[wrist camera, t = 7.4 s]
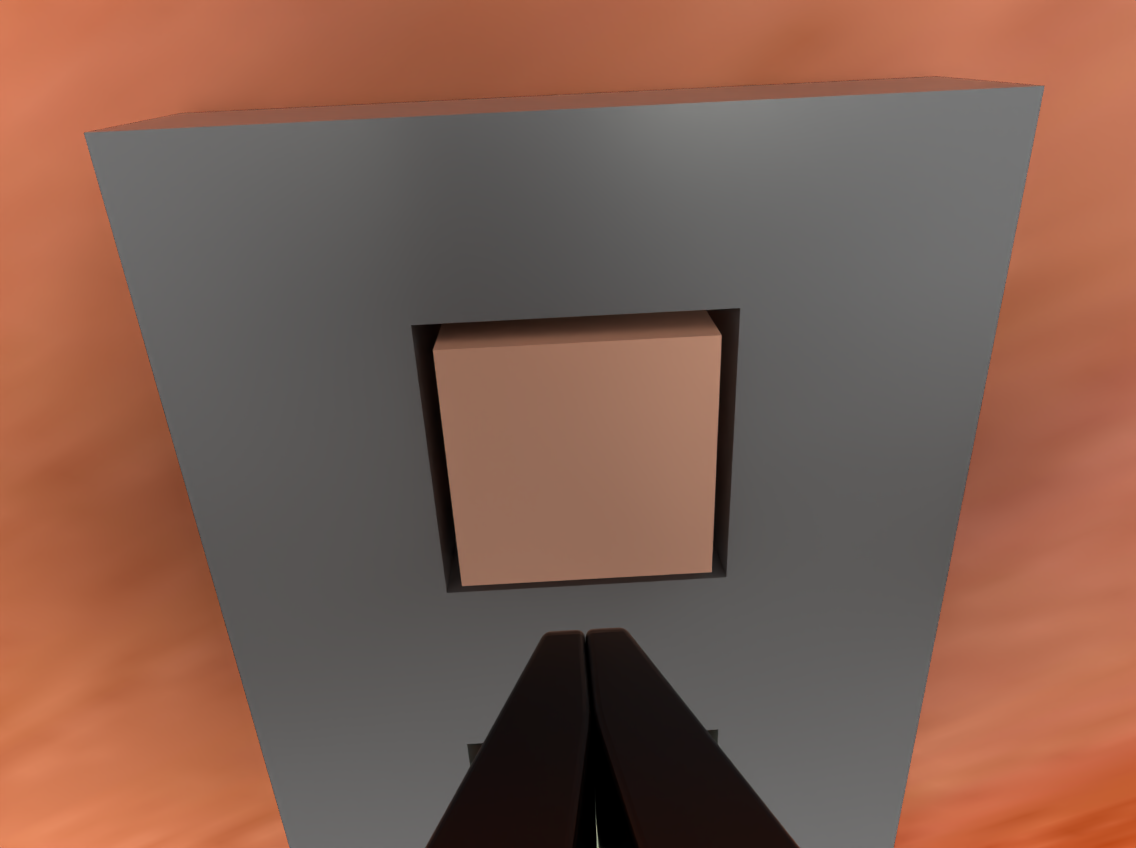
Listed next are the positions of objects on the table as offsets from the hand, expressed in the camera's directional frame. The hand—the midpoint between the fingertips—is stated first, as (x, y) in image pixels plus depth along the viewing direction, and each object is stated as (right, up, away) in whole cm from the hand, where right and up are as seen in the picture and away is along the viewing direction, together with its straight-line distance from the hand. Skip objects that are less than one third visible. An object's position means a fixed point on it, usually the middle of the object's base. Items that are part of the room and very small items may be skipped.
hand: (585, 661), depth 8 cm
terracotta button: (0, +3, +6) cm, 7 cm away
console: (0, -4, +10) cm, 11 cm away
